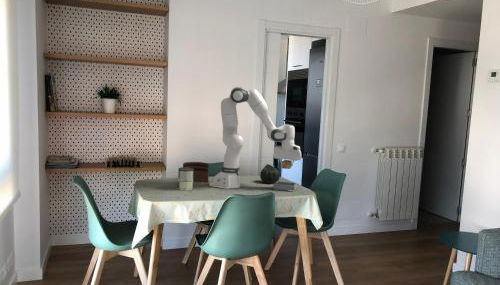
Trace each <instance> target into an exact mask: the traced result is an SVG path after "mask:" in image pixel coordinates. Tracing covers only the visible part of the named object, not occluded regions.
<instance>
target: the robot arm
mask: <svg viewBox="0 0 500 285" xmlns="http://www.w3.org/2000/svg"><path fill="white" fill-rule="evenodd" d="M242 103H247V104H248V106H249V107H250V109H251V110H252V111H253V113H254V114H255V116H257V117H258V118H259V119H260V121H261V122H262V124H263V125H264V127H265V129H266V131H267V132H266V133H267V137H268V139H269V141H273V142H276V143H278V142H281V145H275V146H274V147H273V155H272V156H273V157H272V158H274V159H278V160H279V162H280V166H282V161H283V160H292V163H291V164H290V166H292V167H293V166H294V163H295V161H301V160H302V151H301V147H300V146H299V145H297V144H295V134H296V133H295V132H296V131H295V130H296V129H295V126H294V125H292V124H289V123H284V124H283V125H280V126H278V127H277V126H276V125H274V122H273V121H272V119H271V117H270V115H269V107H268V104H267V102H266V100H265V99H264V97H263V95H262V94H261V93H260V92H259V90H257V89H255V88H251V89H249V90H245V88H243V87H242V86H236V87H234V88H232V89H231V92H230V94H229V96H228V97H226V98H223V99H221V101H220V113H221V114H220V116H221V120H222V121H221V122H222V123H221V124H222V143H223V145H225V146H226V149H225V153H224V155H223V158H224V159H223V161H224V162H223V166H222V167H220V170H221V171H220V172H219V173H217V174H216V175H214V176H213V178H212V181H211V182H209V183H208V185H209V187H214V188H221V189H225V190H226V189H227V190H229V189H240V188H241V184H240V173H241V172H240V171H241V169H240V158H241V154H242V153H241V152H242V149H243V146H244V141H245V140H244V138H243V137H242V135H240V134H239V133H238V125H239V120H238V119H239V118H238V112H237V106H238V104H242Z"/></svg>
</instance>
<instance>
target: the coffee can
mask: <svg viewBox="0 0 500 285" xmlns="http://www.w3.org/2000/svg"><path fill="white" fill-rule="evenodd" d="M177 170H178V175H177V176H178V177H177V179H178V180H177V190H180V191H191V190H193V189H194V188H193V187H194V182H193V170H194V169H193V168H189V167H183V166H182V167H178V169H177Z"/></svg>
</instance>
